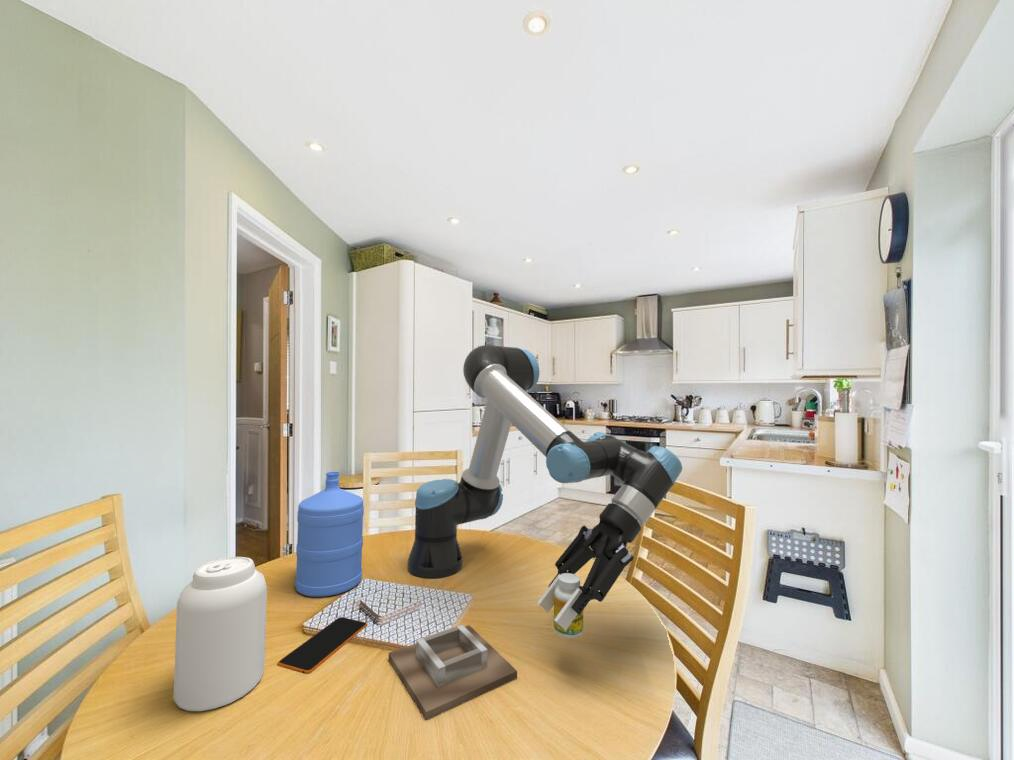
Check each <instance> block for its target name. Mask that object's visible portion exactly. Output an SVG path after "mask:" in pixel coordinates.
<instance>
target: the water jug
mask: <svg viewBox="0 0 1014 760" xmlns="http://www.w3.org/2000/svg"><path fill="white" fill-rule="evenodd" d="M339 475H340V472H338V471H328V472H326V473H325V476H326V477H325V478H326V479H325V488H324V489H323V490H321V491H319V492H317V493H315V494H313V495H311V496H309V497H306V498H305V499H303V500H301V501H300V502H299V504H298V505H297V506H298V507H297V508H298V510H297V514H296V515H297V518H296V520H297V521H296V522H297V540H296V542H297V543H296V547H295V549H296V550H295V553H296V570H295V571H296V572H295V575H296V577H295V580H294V585H295V586H294V587H295V590H297V592H298V593H299V594H301V595H302V596H306V597H311V598H324V597H325V598H326V597H332V596H336V595H339V594H342V593H345V592H348V591H349V590H352V589H353V588H355V587H356V586H357V585H359V583H360V582H361V580H362V577H363V568H362V566H363V565H362V561H363V560H362V559H363V556H362V554H363V546H364V540H363V539H364V536H363V533H364V531H363V527H364V511H365V510H364V509H365V507H364V499H363V498H362V496H360V495H357V494H355V493H352V492H350V491H347V490H344V489H341V488H340V487H339V482H340V478H339Z"/></svg>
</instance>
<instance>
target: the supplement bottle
mask: <svg viewBox="0 0 1014 760" xmlns="http://www.w3.org/2000/svg"><path fill="white" fill-rule="evenodd" d="M558 585H559V586H557V587H556V589H555V592H554V605H553V630H554V631H555V633H556V634H557V635H559V636H561V638H565V639H574V638H575V639H576V638H579V636H582V634H583V631H584V610H583V611H582V612H581V613H580V614H579V615H578V614H577V616H576V617H575V618H574V620H573V621H572V623H571V624H570V625H569V627H568V628H567V630H566V631H565V630H564V629H563V628H562V627H561V626H560V625H559V624H558V623H557V622H556V621H555V620H554V619H555V618H556V617H557V615H558V614H559V612H560V611H561V610H562V608H563V607H564V606H565V604H566V603H567V602H568V600H569V599H570V597H571V596H572V595H573V593H574V592H575V591H576V589H577V588H578V589H579V586H581V577H580V576H579V575H577V574H576V573H575V574H571V573H563V574H561V575H559V577H558ZM579 590H580V589H579ZM580 591H581V590H580ZM581 592H582V591H581Z"/></svg>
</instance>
